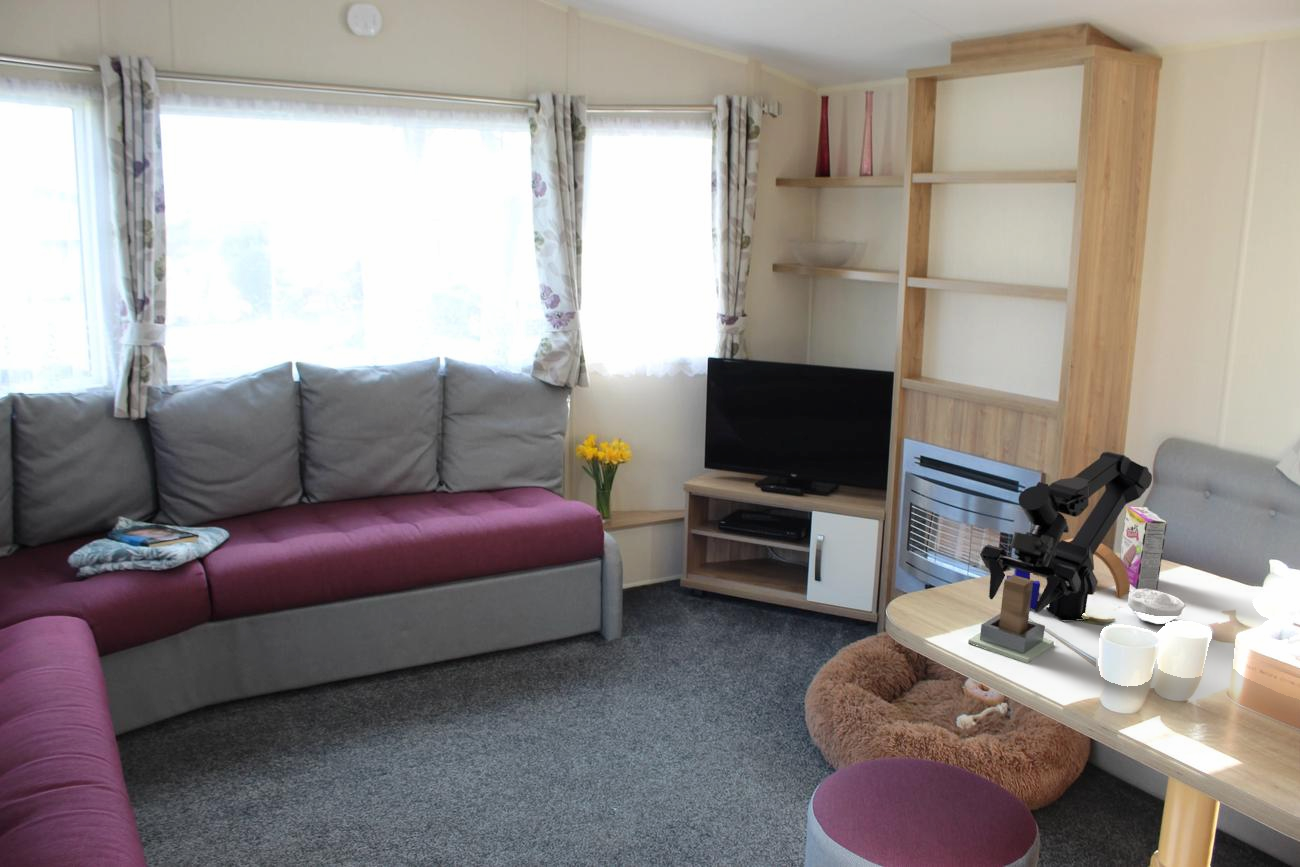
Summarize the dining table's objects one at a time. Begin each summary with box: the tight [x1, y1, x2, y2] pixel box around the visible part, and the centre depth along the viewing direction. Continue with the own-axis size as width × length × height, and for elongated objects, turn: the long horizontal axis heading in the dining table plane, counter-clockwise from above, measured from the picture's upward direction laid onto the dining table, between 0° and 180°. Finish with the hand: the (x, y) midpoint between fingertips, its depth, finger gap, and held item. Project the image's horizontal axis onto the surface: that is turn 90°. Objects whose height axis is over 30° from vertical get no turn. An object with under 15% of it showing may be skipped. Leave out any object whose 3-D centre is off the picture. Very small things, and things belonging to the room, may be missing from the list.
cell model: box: [1127, 588, 1186, 617], centre depth 228 cm, size 10×12×7 cm
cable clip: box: [1006, 568, 1041, 610], centre depth 238 cm, size 12×4×6 cm, turn 172°
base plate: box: [967, 632, 1055, 664], centre depth 214 cm, size 12×12×1 cm
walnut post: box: [999, 574, 1034, 635], centre depth 213 cm, size 4×4×12 cm
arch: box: [1034, 537, 1131, 599], centre depth 248 cm, size 6×20×10 cm, turn 46°
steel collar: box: [979, 612, 1046, 654], centre depth 214 cm, size 9×9×3 cm
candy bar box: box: [1119, 505, 1168, 591], centre depth 250 cm, size 11×5×16 cm, turn 179°
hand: (1012, 605), depth 212 cm, fingers open, 9 cm apart
